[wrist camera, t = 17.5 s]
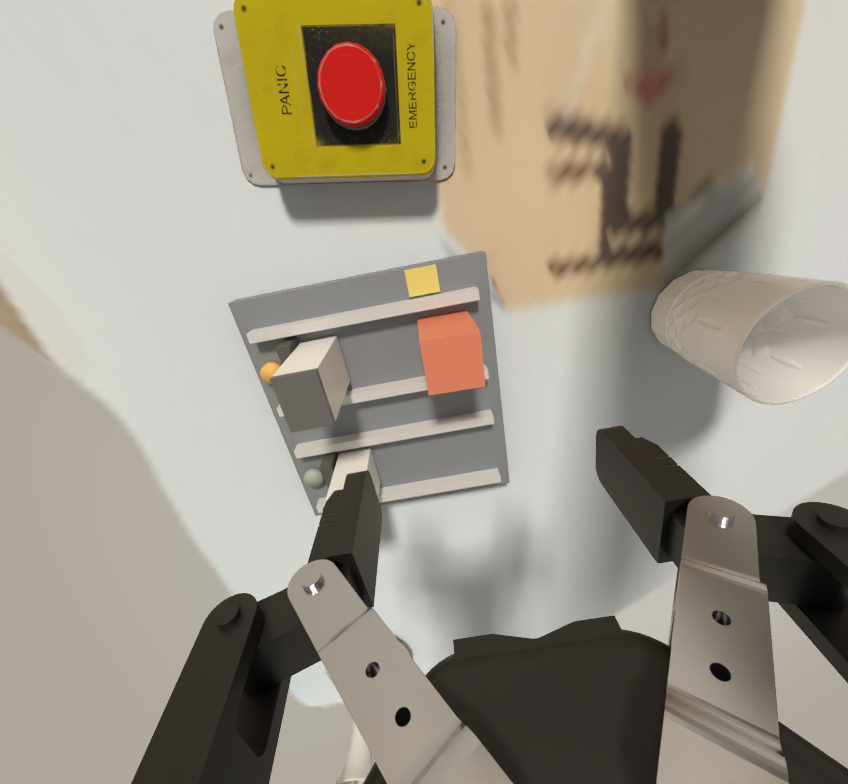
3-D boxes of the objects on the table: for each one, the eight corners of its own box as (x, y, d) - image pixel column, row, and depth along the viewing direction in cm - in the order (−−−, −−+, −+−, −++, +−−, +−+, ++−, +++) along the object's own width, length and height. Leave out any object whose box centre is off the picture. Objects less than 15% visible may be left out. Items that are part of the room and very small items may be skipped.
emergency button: (461, 174, 23) (221, 181, 23) (454, 180, 27) (248, 186, 27) (464, -31, 19) (173, -26, 19) (455, 10, 23) (214, 15, 23)
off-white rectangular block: (336, 335, 30) (316, 370, 23) (350, 380, 31) (334, 424, 25) (300, 342, 30) (269, 379, 23) (315, 386, 32) (291, 432, 25)
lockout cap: (472, 356, 31) (485, 386, 26) (425, 364, 31) (428, 395, 26) (466, 309, 29) (480, 331, 24) (417, 318, 30) (419, 341, 24)
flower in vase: (420, 664, 52) (429, 1003, 30) (344, 679, 53) (296, 1020, 31) (394, 607, 47) (381, 970, 24) (309, 624, 48) (220, 991, 25)
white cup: (730, 243, 29) (872, 255, 20) (741, 328, 33) (869, 371, 24) (632, 290, 31) (726, 321, 22) (653, 368, 34) (742, 423, 25)
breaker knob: (370, 448, 34) (361, 504, 28) (380, 481, 36) (373, 542, 29) (339, 453, 35) (322, 510, 28) (350, 486, 36) (337, 548, 30)
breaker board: (482, 251, 29) (492, 255, 25) (505, 473, 38) (515, 499, 35) (236, 299, 30) (213, 310, 26) (318, 505, 39) (309, 533, 36)
